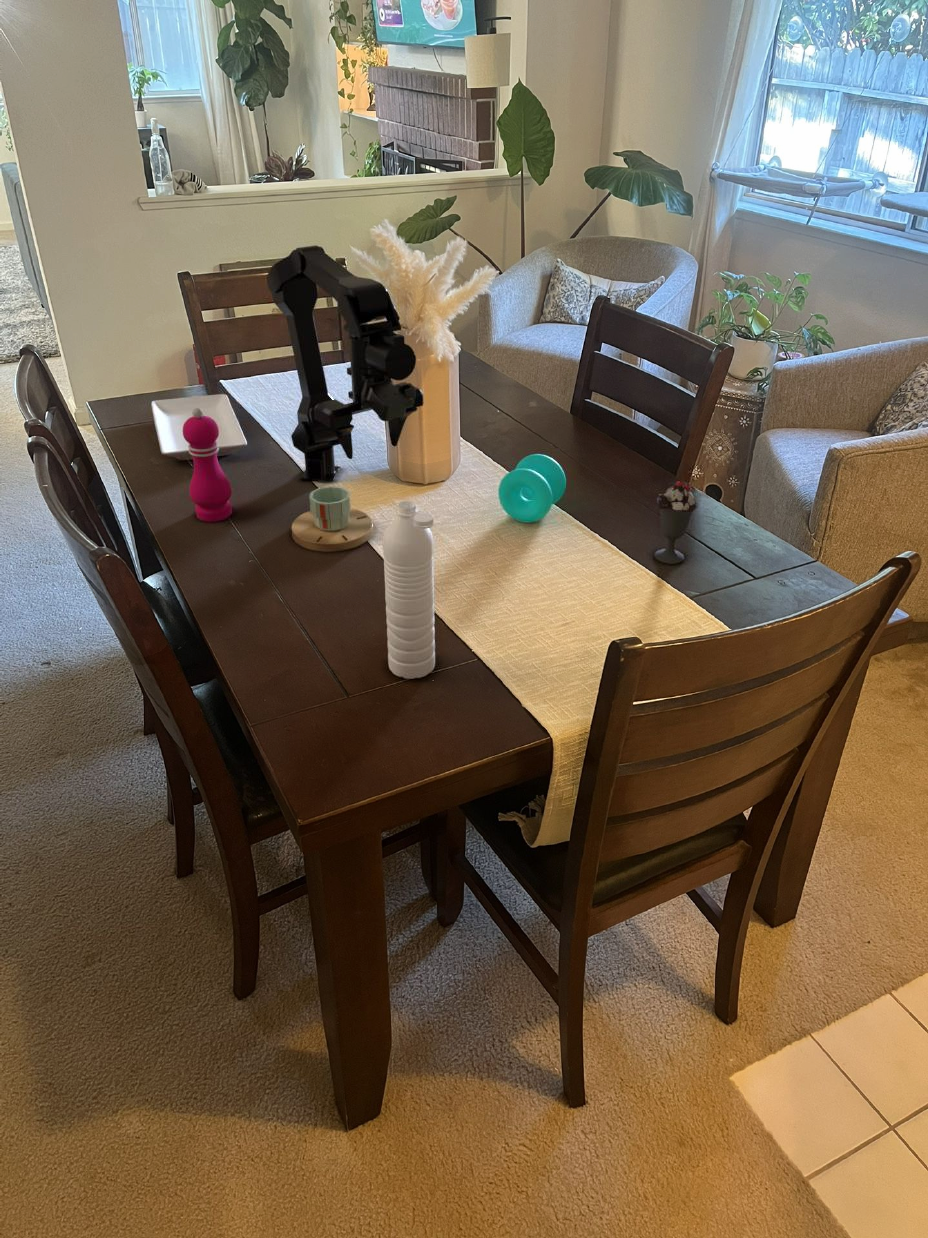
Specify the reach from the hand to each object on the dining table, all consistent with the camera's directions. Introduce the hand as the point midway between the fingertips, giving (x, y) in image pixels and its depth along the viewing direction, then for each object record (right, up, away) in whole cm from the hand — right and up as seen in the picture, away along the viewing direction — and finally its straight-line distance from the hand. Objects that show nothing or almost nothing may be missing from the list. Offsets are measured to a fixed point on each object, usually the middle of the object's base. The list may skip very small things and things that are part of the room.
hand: (372, 451), depth 160 cm
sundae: (+51, -19, -6) cm, 54 cm away
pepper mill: (-29, -10, +6) cm, 32 cm away
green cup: (-7, -13, 0) cm, 14 cm away
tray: (-41, +10, +37) cm, 56 cm away
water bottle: (+9, -36, -33) cm, 50 cm away
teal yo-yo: (+28, -10, +7) cm, 31 cm away
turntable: (-7, -14, +1) cm, 16 cm away
